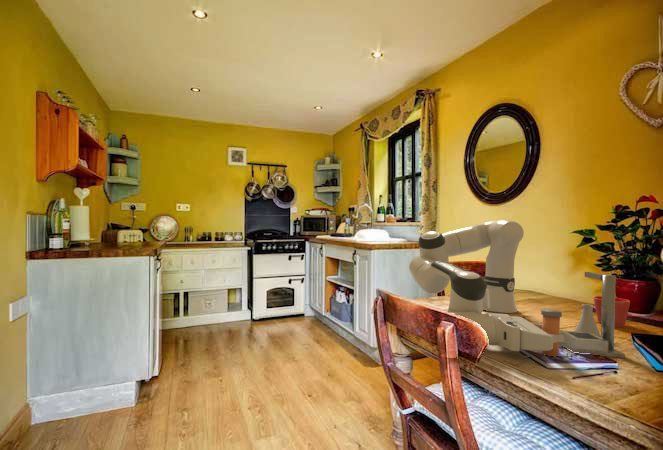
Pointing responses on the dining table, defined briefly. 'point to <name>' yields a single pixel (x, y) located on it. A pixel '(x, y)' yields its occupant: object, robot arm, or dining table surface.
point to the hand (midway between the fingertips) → (554, 333)
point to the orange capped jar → (551, 327)
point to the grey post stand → (605, 344)
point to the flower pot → (620, 310)
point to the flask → (587, 321)
